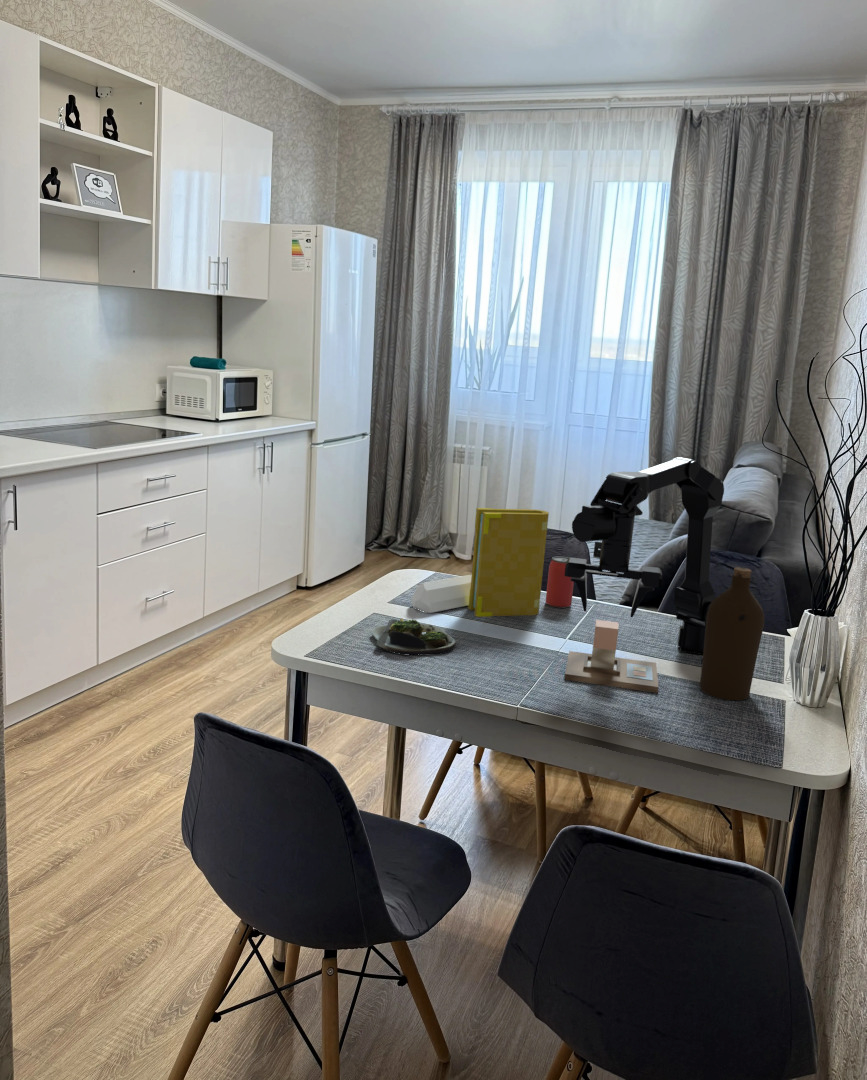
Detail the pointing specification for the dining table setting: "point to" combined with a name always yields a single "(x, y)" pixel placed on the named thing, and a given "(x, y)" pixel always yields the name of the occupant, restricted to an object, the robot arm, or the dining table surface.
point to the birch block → (603, 658)
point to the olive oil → (732, 640)
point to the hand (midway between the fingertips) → (608, 613)
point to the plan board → (613, 672)
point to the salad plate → (412, 638)
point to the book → (508, 561)
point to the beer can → (559, 584)
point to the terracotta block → (606, 635)
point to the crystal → (442, 594)
